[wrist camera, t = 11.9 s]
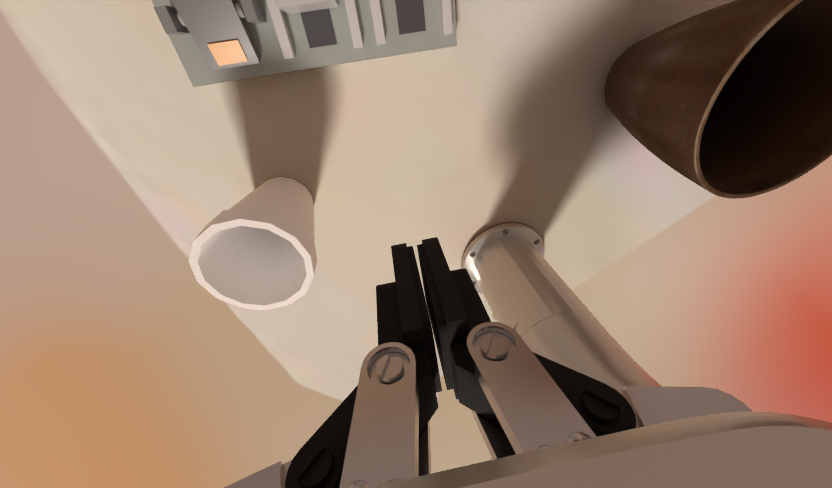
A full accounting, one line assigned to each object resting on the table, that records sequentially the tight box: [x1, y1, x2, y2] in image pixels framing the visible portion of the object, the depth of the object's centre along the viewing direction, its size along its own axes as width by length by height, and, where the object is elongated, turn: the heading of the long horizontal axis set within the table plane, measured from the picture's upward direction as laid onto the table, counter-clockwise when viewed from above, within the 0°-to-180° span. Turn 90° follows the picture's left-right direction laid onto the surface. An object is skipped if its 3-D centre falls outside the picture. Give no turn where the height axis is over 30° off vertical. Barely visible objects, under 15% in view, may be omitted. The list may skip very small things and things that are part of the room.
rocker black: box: [171, 0, 261, 70], centre depth 23 cm, size 7×5×1 cm, turn 8°
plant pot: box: [605, 0, 832, 198], centre depth 28 cm, size 15×15×16 cm
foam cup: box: [189, 177, 317, 310], centre depth 31 cm, size 10×9×13 cm
